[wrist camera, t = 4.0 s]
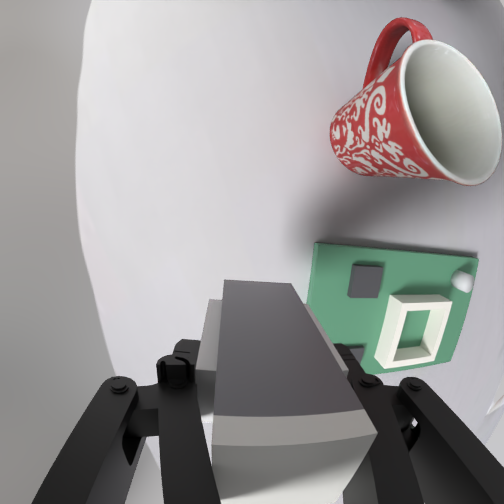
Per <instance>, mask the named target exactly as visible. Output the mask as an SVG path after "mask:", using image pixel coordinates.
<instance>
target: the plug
mask: <svg viewBox="0 0 504 504" xmlns="http://www.w3.org/2000/svg"><path fill="white" fill-rule="evenodd" d="M377 434H378V432H377V431H376V429H375V427H374V425H373V424H372V422H371V420H370V418H369V416H368V415H367V413H366V411H365V409H364V408H363V406H362V404H361V402H360V401H359V399H358V397H357V395H356V393H355V392H354V390H353V388H352V387H351V385H350V383H349V381H348V380H347V378H346V376H345V374H344V373H343V371H342V369H341V367H340V366H339V364H338V362H337V360H336V359H335V357H334V355H333V354H332V352H331V350H330V348H329V347H328V345H327V343H326V342H325V340H324V338H323V336H322V335H321V333H320V331H319V330H318V328H317V326H316V325H315V323H314V321H313V320H312V318H311V316H310V314H309V313H308V311H307V309H306V308H305V306H304V304H303V303H302V301H301V299H300V298H299V296H298V294H297V293H296V291H295V289H294V288H293V286H292V284H291V283H273V282H255V281H239V280H224V288H223V299H222V309H221V321H220V332H219V344H218V357H217V370H216V383H215V397H214V412H213V429H212V470H213V474H214V478H215V482H216V486H217V490H218V493H219V497H220V501H221V504H330V503H335V502H336V500H337V499H338V498H339V496H340V495H341V493H342V492H343V490H344V489H345V487H346V486H347V484H348V483H349V481H350V480H351V478H352V477H353V475H354V474H355V472H356V470H357V469H358V467H359V466H360V464H361V462H362V461H363V459H364V457H365V455H366V454H367V452H368V450H369V448H370V447H371V445H372V443H373V441H374V439H375V437H376V436H377Z"/></svg>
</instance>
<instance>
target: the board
mask: <svg viewBox="0 0 504 504" xmlns="http://www.w3.org/2000/svg"><path fill="white" fill-rule="evenodd" d="M478 261H479V259H477V258H474V257H468V256H458V255H448V254H438V253H428V252H417V251H406V250H395V249H384V248H373V247H361V246H349V245H337V244H325V243H314V252H313V260H312V268H311V275H310V283H309V290H308V297H307V304H308V305H309V307H310V308H311V310H312V311H313V313H314V315H315V316H316V318H317V319H318V321H319V323H320V324H321V326H322V327H323V329H324V331H325V332H326V334H327V335H328V337H329V339H330V340H331V342H332V343H342V344H343V345H345V346H346V347H348V348H349V349H350V351H351V352H352V353H353V355H354V356H355V358H356V360H357V361H358V362H359V364H360V365H361V367H362V368H363V370H364V371H365V372H366V373H367V374H372V375H373V374H381V373H388V372H395V371H402V370H408V369H414V368H419V367H425V366H430V365H435V364H440V363H444V362H449V361H451V358H452V356H453V353H454V350H455V347H456V345H457V342H458V339H459V336H460V333H461V330H462V326H463V323H464V320H465V316H466V313H467V309H468V306H469V302H470V298H471V294H472V290H473V286H474V281H475V276H476V272H477V267H478Z"/></svg>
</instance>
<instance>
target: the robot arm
mask: <svg viewBox="0 0 504 504" xmlns="http://www.w3.org/2000/svg"><path fill="white" fill-rule="evenodd" d="M304 306H305V308H306V309H307V311H308V313H309V314H310V316H311V318H312V320H313V321H314V323H315V325H316V326H317V328H318V330H319V331H320V333H321V335H322V336H323V338H324V340H325V342H326V343H327V345H328V347H329V348H330V350H331V352H332V354H333V355H334V357H335V359H336V360H337V362H338V364H339V366H340V367H341V369H342V371H343V373H344V374H345V376H346V378H347V380H348V381H349V383H350V385H351V387H352V388H353V390H354V392H355V393H356V395H357V397H358V399H359V401H360V402H361V404H362V406H363V408H364V409H365V411H366V413H367V415H368V416H369V418H370V420H371V422H372V424H373V425H374V427H375V429H376V431H377V432H378V434H377V436H376V437H375V439H374V441H373V443H372V445H371V447H370V448H369V450H368V452H367V454H366V455H365V457H364V459H363V461H362V462H361V464H360V466H359V467H358V469H357V470H356V472H355V474H354V475H353V477H352V478H351V480H350V481H349V483H348V484H347V486H346V487H345V489H344V490H343V503H344V504H424V503H425V504H504V467H503V466H502V465H501V464H500V463H499V462H498V461H497V460H496V458H495V457H494V456H493V455H492V454H491V453H490V451H489V450H488V449H487V448H486V447H485V446H484V445H483V444H482V442H481V441H480V440H479V439H478V438H477V437H476V436H475V435H474V434H473V433H472V431H471V430H470V429H469V428H468V427H467V426H466V425H465V424H464V423H463V422H462V421H461V419H460V418H459V417H458V416H457V415H456V414H455V413H454V412H453V411H452V410H451V409H450V408H449V407H448V406H447V404H446V403H445V402H444V401H443V400H442V399H441V398H440V397H439V396H438V395H437V394H436V393H435V392H434V391H433V390H432V389H431V388H430V387H429V386H428V385H427V383H425V382H424V381H423V380H421V379H419V378H416V377H406V378H404V379H402V381H401V382H400V384H399V386H387V385H383V382H382V381H381V380H380V379H379V378H378V377H376V376H374V375H372V374H367V373H366V372H365V371H364V370H363V368H362V367H361V365H360V364H359V362H358V361H357V360H356V358H355V356H354V355H353V353H352V352H351V351H350V349H349V348H348V347H346V346H345V345H343V344H342V343H332V342H331V340H330V339H329V337H328V335H327V334H326V332H325V331H324V329H323V327H322V326H321V324H320V323H319V321H318V319H317V318H316V316H315V315H314V313H313V311H312V310H311V308H310V307H309V305H308V304H304ZM221 309H222V300H215V299H209V303H208V308H207V313H206V318H205V323H204V328H203V333H202V338H201V341H199V340H187V339H181V340H180V341H179V342H178V343H177V344H176V345H175V348H174V352H173V354H172V355H167V356H164V357H162V358H160V359H159V360H158V361H157V364H156V367H157V377H158V383H157V384H154V385H149V386H137V385H136V383H135V382H134V381H133V380H132V379H130V378H127V377H123V376H116V377H111V378H109V379H107V380H106V381H105V382H104V383H103V384H102V385H101V387H100V388H99V390H98V391H97V393H96V394H95V396H94V398H93V399H92V401H91V402H90V404H89V405H88V407H87V409H86V410H85V412H84V413H83V415H82V417H81V418H80V420H79V421H78V423H77V425H76V426H75V428H74V429H73V431H72V433H71V434H70V436H69V438H68V439H67V441H66V443H65V445H64V446H63V448H62V449H61V451H60V453H59V455H58V456H57V458H56V460H55V462H54V463H53V465H52V467H51V469H50V470H49V472H48V474H47V476H46V477H45V479H44V481H43V483H42V485H41V487H40V488H39V490H38V492H37V494H36V496H35V498H34V500H33V502H32V504H125V500H126V497H127V494H128V491H129V488H130V485H131V482H132V479H133V476H134V473H135V470H136V467H137V464H138V461H139V458H140V454H141V452H142V449H143V446H144V443H145V440H146V437H148V436H159V447H160V464H161V476H162V486H163V498H164V504H221V501H220V497H219V493H218V490H217V486H216V482H215V478H214V474H213V470H212V466H211V461H210V457H209V453H208V448H207V444H206V439H205V434H204V429H203V424H202V422H209V423H213V412H214V397H215V383H216V370H217V357H218V344H219V332H220V321H221ZM414 418H415V419H416V421H417V422H418V423H417V425H416V427H414V426H413V425H412V421H413V420H414Z"/></svg>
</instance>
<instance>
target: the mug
mask: <svg viewBox="0 0 504 504" xmlns="http://www.w3.org/2000/svg"><path fill="white" fill-rule="evenodd" d="M408 30H410V32H411V36H412V41H413V44H411V45H410V46H409V47H408V48H407V49H406V50H405V51H404V53H403V55H402V57H401V58H399V59H398V60H397V61H396V62H395V63H393V64H392V65H391V66H390V67H388V65H389V62H390V59H391V56H392V53H393V51H394V49H395V47H396V45H397V43H398V41H399V40H400V38H401V37H402V36H403V35H404V34H405V33H406V32H407V31H408ZM387 67H388V68H387ZM330 141H331V145H332V148H333V150H334V152H335V154H336V156H337V158H338V159H339V160H340V162H341V163H342V164H343V165H344V166H346V167H347V168H348V169H349V170H351V171H353V172H355V173H357V174H360V175H364V176H386V177H406V178H421V179H434V180H449V181H453V182H455V183H458V184H461V185H465V186H474V185H479V184H481V183H483V182H485V181H486V180H487V179H488V178H490V176H491V175H492V174H493V173H494V171H495V169H496V167H497V165H498V162H499V159H500V155H501V149H502V128H501V122H500V117H499V113H498V109H497V106H496V103H495V100H494V98H493V95H492V93H491V91H490V89H489V87H488V85H487V83H486V81H485V80H484V78H483V76H482V75H481V73H480V72H479V71H478V70H477V68H476V67H475V66H474V65H473V64H472V62H471V61H470V60H469V59H468V58H466V57H465V56H464V55H463V54H462V53H461V52H459V51H458V50H457V49H455V48H453V47H452V46H450V45H448V44H446V43H443V42H440V41H437V40H433V39H432V36H431V34H430V32H429V30H428V29H427V28H426V27H425V26H424V25H423V24H422V23H420V22H418V21H416V20H413V19H409V18H402V17H401V18H396V19H394V20H392V21H391V22H390V23H388V24H387V25H386V26H385V28H384V29H383V30H382V32H381V34H380V35H379V37H378V39H377V41H376V44H375V46H374V49H373V52H372V55H371V58H370V61H369V64H368V68H367V72H366V76H365V80H364V84H363V89H362V90H361V91H360V92H359V93H358V94H357V95H356V96H354V97H353V98H352V99H351V100H350V101H349V102H348V103H347V104H345V105H344V106H343V107H342V108H341V109H340V110H339V111H338V112H337V113H336V114H335V116H334V118H333V120H332V123H331V126H330Z"/></svg>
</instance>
